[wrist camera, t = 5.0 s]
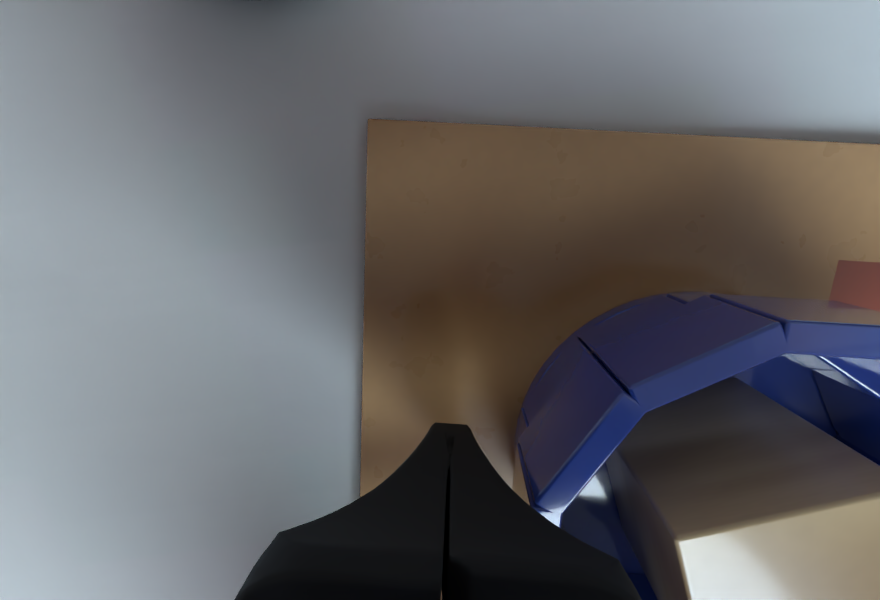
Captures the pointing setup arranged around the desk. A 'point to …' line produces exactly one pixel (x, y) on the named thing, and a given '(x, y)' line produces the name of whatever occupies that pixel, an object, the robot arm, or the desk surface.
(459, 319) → the desk mat
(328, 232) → the desk surface
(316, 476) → the desk surface
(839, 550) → the block
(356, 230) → the desk surface
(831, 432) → the bowl
